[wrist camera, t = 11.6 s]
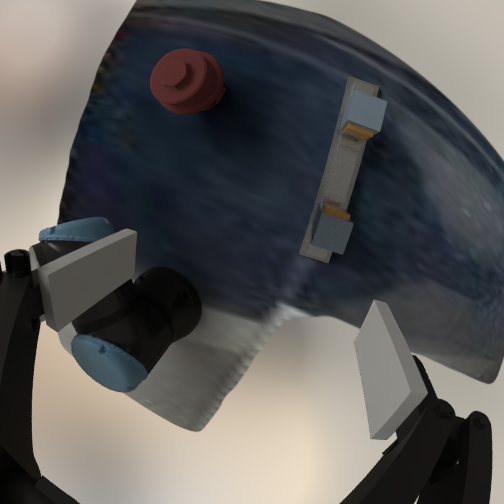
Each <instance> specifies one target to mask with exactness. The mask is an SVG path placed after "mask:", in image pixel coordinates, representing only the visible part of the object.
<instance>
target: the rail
mask: <svg viewBox="0 0 504 504" xmlns="http://www.w3.org/2000/svg"><path fill="white" fill-rule="evenodd" d="M378 89H379V86H376V85H373V84H371V83H368V82H365V81H362V80H359V79H356V78H353V77H350V76H348V80H347V84H346V88H345V93H344V97H343V101H342V105H341V109H340V113H339V117H338V121H337V125H336V129H335V133H334V136H333V140H332V144H331V148H330V151H329V155H328V159H327V162H326V166H325V169H324V173H323V176H322V180H321V183H320V187H319V190H318V194H317V197H316V200H315V204H314V207H313V210H312V214H311V217H310V220H309V223H308V227H307V230H306V233H305V236H304V239H303V242H302V246H301V249H300V252H299V254H300V255H303V256H307V257H310V258H313V259H316V260H319V261H322V262H326V263H329V260H330V257H331V254H332V252H335V253H339V254H342V255H343V253H344V250H345V248H346V245H347V242H348V239H349V236H350V233H351V231H352V228H353V225H354V223H353V222H352V220H351V219H350V216H351V215H350V214H349V213H348V212H347V207H348V204H349V201H350V197H351V194H352V191H353V188H354V184H355V181H356V177H357V174H358V170H359V167H360V163H361V160H362V156H363V152H364V149H365V145H366V141H367V140H362V139H360V138H357V137H354V136H351V135H348V134H345V133H343V131H340V126H341V122H342V118H343V114H344V110H345V106H346V104H347V103H348V101H349V99H350V97H351V96H352V94H353V92H354V90H357V91H360V92H363V93H366V94H369V95H371V96H374V97H377V94H378Z"/></svg>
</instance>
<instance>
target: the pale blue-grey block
mask: <svg viewBox="0 0 504 504" xmlns="http://www.w3.org/2000/svg"><path fill="white" fill-rule="evenodd" d="M386 105H387V101H384V100H382V99H379V98H377V97H374V96H371V95H369V94H366V93H363V92H360V91H357V90H354V92H353V94H352V96H351V97H350V99H349V101H348V103H347V104H346V106H345V110H344V114H343V118H342V122H341V126H340V131H343V133H345V134H348V135H351V136H354V137H357V138H360V139H362V140H367V139H369V138H371V137H373V135H375V134H377V133H379V132H380V130H381V126H382V122H383V118H384V114H385V109H386Z"/></svg>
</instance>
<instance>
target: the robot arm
mask: <svg viewBox="0 0 504 504" xmlns="http://www.w3.org/2000/svg"><path fill="white" fill-rule="evenodd" d="M136 239H137V232H136V231H133V230H129V229H124V230H122V231H119V232H117V233H115V231H114V228H113V225H112V223H111V222H110V221H109V220H108V219H106V218H104V217H94V218H87V219H81V220H76V221H71V222H67V223H63V224H59V225H57V226H54V227H51V228H46V229H44V230H42V231H40V233H39V241H41V242H40V243H38V244H35V245H33V246H31V247H30V248H29V251H26V250H22V249H16V250H12V251H9V252H7V253H6V254H5V255H4V258H5V265H6V270H5V271H2V269H1V263H0V504H80V503H78V502H77V501H76V500H75V499H74V498H72V497H71V496H69V495H68V494H66V493H65V492H64V491H62V490H61V489H60V488H58V487H57V486H56V485H54V484H53V483H52V482H50V481H49V480H48V479H47V478H45V477H44V476H42V477H41V473H40V470H39V467H38V464H37V462H36V460H35V458H34V454H33V446H32V445H33V444H32V389H33V375H34V364H35V356H36V349H37V342H38V335H39V330H40V325H41V322H43V321H45V320H46V324H47V325H48V326H49V327H50V328H52V329H53V330H55V331H56V332H58V331H60V330H61V329H62V328H64V327H65V326H66V325H67V324H69V323H70V322H72V324H73V326H74V328H75V330H76V332H77V335H76V336H74V338H73V340H72V342H71V348H72V349H71V350H72V354H73V356H74V358H75V360H76V361H77V363H78V364H79V365H80V367H81V368H82V369H83V370H84V371H85V372H86V373H87V374H88V375H89V376H90V377H91V378H92V379H94V380H95V381H96V382H98V383H99V384H101V385H102V386H104V387H106V388H108V389H110V390H114V391H117V392H130V391H133V390H134V389H136V387H137V386H138V385H139V384H140V383H141V382H142V381H143V380H145V379H146V378H147V376H148V374H149V373H150V372H151V370H152V369H153V367H154V366H155V365H156V363H157V362H158V361H159V359H160V358H161V357H162V355H163V354H164V353H165V351H166V350H167V349H168V347H169V346H170V345H171V343H173V342H175V341H177V340H179V339H181V338H183V337H185V336H187V335H189V334H190V333H191V332H192V331H193V330H194V328H195V327H196V326H197V324H198V322H199V320H200V317H201V303H200V299H199V296H198V294H197V292H196V290H195V289H194V287H193V286H192V285H191V283H190V282H189V281H188V280H187V279H186V278H185V277H183V276H182V275H181V274H179V273H177V272H176V271H174V270H171V269H168V268H163V267H156V268H151V269H149V270H147V271H146V272H144V273H143V274H141V275H140V276H139V277H138V278H137V279H136V280H135V282H134V284H133V282H132V279H131V278H132V277H133V276H134V269H135V252H136ZM354 345H355V349H356V354H357V359H358V364H359V370H360V375H361V380H362V386H363V391H364V397H365V403H366V409H367V416H368V423H369V431H370V438H371V439H379V440H387V439H388V438H389V437H390V436H391V435H392V434H393V433H394V432H395V431H396V435H397V439H396V440H395V441H394V442H393V443H392V444H391V445H390V446H389V447H388V448H387V449H386V450H385V451H384V452H383V453H382V454H383V456H382V458H381V459H380V460H379V461H378V463H377V464H376V465H375V466H374V467H373V469H372V470H371V471H370V472H369V473H368V474H367V476H366V477H365V478H364V479H363V480H362V481H361V482H360V483H359V484H358V485H357V486H356V488H355V489H354V490H353V491H352V492H351V493H350V494H349V495H348V496H347V497H346V498H345V499H344V500H343V501H342V502H341V503H340V504H414V502H415V501H416V499H417V498H418V496H419V498H418V501H417V504H489V501H490V492H491V480H492V429H491V423H490V421H489V419H488V417H487V416H486V415H485V414H484V413H481V412H479V411H473V412H472V413H471V414H470V415H469V417H467V418H466V419H464V418H461V417H458V416H455V411H454V409H453V407H452V406H451V405H450V404H449V403H448V402H447V401H444V400H442V399H438V398H437V396H436V393H435V391H434V388H433V386H432V384H431V381H430V379H428V375H427V373H426V370H425V368H424V366H423V364H422V363H421V361H420V360H419V359H418V358H417V357H416V356H415V355H412V354H411V352H410V350H409V348H408V345H407V343H406V341H405V339H404V337H403V335H402V333H401V331H400V329H399V327H398V325H397V323H396V321H395V319H394V317H393V315H392V313H391V311H390V309H389V307H388V305H387V303H385V302H381V301H377V300H374V301H373V303H372V305H371V307H370V310H369V312H368V314H367V316H366V318H365V320H364V322H363V325H362V327H361V329H360V331H359V333H358V335H357V337H356V339H355V341H354ZM458 461H459V462H458ZM457 462H458V464H457ZM419 494H420V495H419Z"/></svg>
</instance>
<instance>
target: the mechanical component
mask: <svg viewBox="0 0 504 504" xmlns="http://www.w3.org/2000/svg"><path fill="white" fill-rule="evenodd" d="M150 86H151V90H152V93H153V95H154V96H155V97H156V98H157V99H158V100H159V101H160V102H161V104H162V105H163V106H164V107H165V108H166V109H168V110H170V111H172V112H175V113H178V114H183V115H188V114H194V113H197V112H200V111H205V110H208V109H211V108H212V107H214V106H215V105H217V104H218V103H219V101H220V100H221V98H222V96H223V94H224V93H225V92H226V88H225V87H224V83H223V71H222V68H221V66H220V64H219V63H218V62H217V61H216V60H215V59H214V58H213V57H212V56H211V55H209V54H207V53H205V52H200V51H195V50H193V49H186V48H184V49H178V50H175V51H172V52H170V53H168V54H167V55H165V56H164V57H163V58H162V59H161V60H160V61H159V62H158V63H157V65H156V66H155V68H154V70H153V72H152V75H151V79H150Z"/></svg>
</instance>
